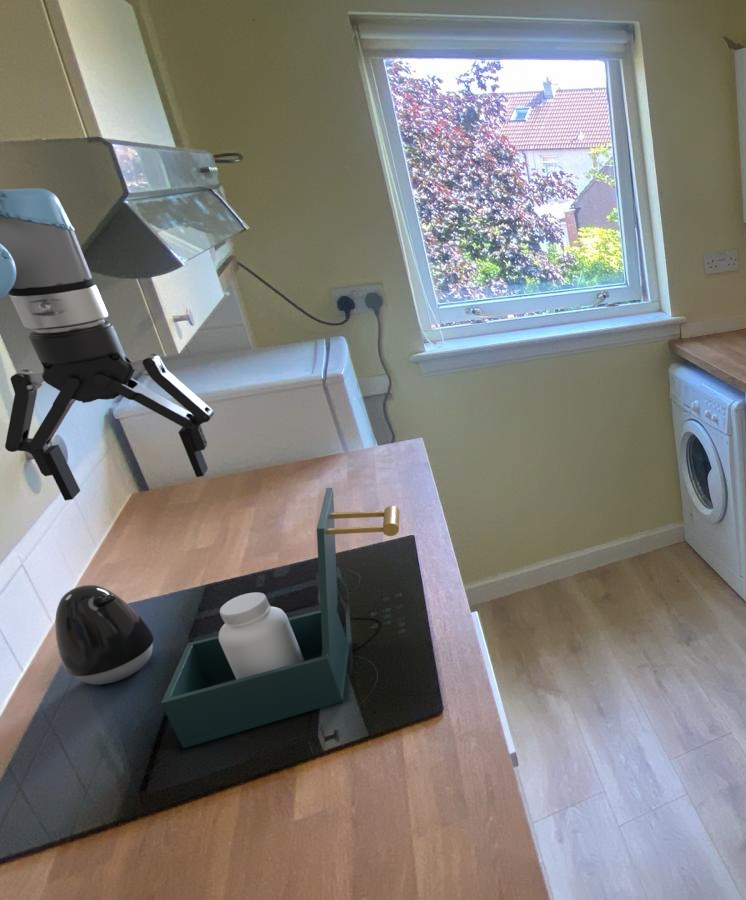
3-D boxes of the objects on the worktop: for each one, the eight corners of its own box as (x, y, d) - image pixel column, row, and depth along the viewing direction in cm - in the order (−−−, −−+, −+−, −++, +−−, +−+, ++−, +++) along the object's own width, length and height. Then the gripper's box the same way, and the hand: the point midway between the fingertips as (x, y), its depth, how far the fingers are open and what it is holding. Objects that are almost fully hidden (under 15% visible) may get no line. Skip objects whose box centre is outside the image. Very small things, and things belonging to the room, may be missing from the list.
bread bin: (183, 748, 97) (160, 703, 94) (206, 685, 108) (187, 643, 105) (343, 701, 104) (327, 657, 101) (349, 646, 116) (335, 606, 112)
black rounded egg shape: (116, 698, 106) (71, 612, 100) (57, 692, 108) (9, 607, 102) (180, 652, 116) (143, 571, 109) (125, 647, 117) (85, 566, 111)
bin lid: (316, 528, 95) (398, 525, 99) (326, 487, 106) (399, 485, 110) (322, 655, 101) (399, 647, 105) (331, 604, 112) (400, 598, 116)
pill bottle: (231, 703, 103) (192, 616, 97) (280, 666, 111) (246, 583, 105) (277, 711, 102) (240, 623, 96) (323, 673, 109) (292, 588, 103)
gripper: (-92, 348, 80) (0, 518, 88) (189, 318, 89) (247, 474, 98) (-56, 333, 86) (27, 493, 94) (203, 306, 96) (257, 454, 104)
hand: (139, 484), depth 96 cm, fingers open, 13 cm apart
